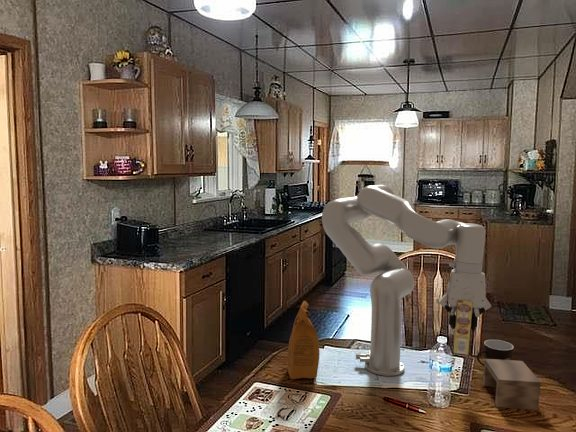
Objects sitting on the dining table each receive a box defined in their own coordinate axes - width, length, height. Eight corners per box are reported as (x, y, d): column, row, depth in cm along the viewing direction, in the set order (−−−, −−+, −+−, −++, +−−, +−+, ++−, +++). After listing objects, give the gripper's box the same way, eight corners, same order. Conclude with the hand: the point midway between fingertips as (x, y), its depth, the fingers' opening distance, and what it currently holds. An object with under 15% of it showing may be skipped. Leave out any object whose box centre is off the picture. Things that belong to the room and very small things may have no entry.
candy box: (468, 355, 142) (473, 303, 140) (453, 353, 143) (457, 301, 141) (467, 344, 151) (472, 294, 148) (452, 341, 152) (457, 292, 150)
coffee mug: (506, 369, 164) (508, 340, 162) (515, 381, 155) (517, 350, 154) (469, 367, 165) (471, 338, 163) (476, 379, 156) (478, 348, 155)
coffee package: (318, 364, 165) (319, 299, 162) (319, 382, 153) (321, 312, 150) (287, 363, 165) (289, 298, 163) (286, 380, 153) (287, 311, 150)
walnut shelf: (496, 406, 140) (498, 379, 139) (482, 383, 153) (484, 358, 152) (538, 409, 138) (540, 382, 137) (520, 386, 152) (522, 360, 151)
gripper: (440, 268, 141) (434, 330, 143) (503, 272, 139) (496, 335, 142) (435, 262, 148) (430, 321, 151) (495, 265, 146) (488, 325, 149)
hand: (462, 327), depth 146 cm, fingers closed on candy box, 4 cm apart
